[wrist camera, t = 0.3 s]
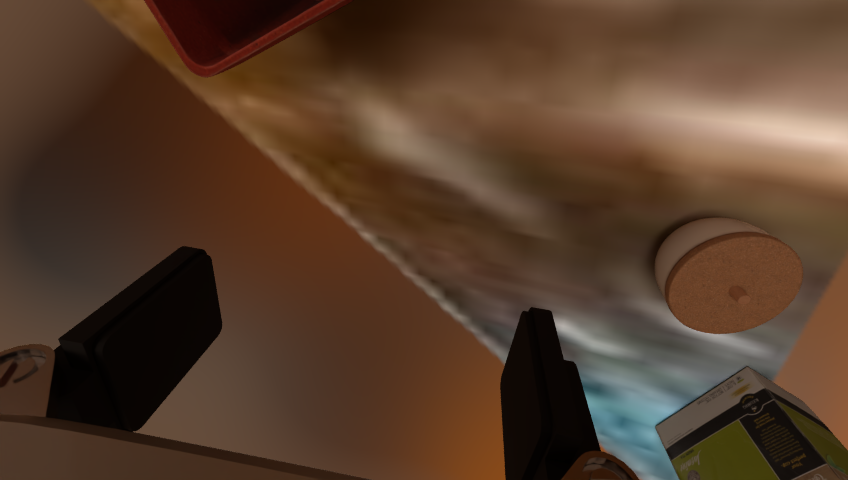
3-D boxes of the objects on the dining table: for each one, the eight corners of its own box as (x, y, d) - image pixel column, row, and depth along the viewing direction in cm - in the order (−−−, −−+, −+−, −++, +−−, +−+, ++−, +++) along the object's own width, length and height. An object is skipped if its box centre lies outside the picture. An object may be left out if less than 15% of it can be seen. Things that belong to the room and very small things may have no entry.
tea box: (705, 453, 57) (771, 578, 44) (652, 424, 56) (704, 544, 43) (804, 398, 50) (917, 527, 37) (747, 362, 49) (844, 484, 36)
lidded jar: (675, 187, 40) (726, 229, 31) (775, 219, 40) (851, 269, 32) (620, 271, 45) (652, 327, 37) (708, 299, 45) (759, 360, 37)
